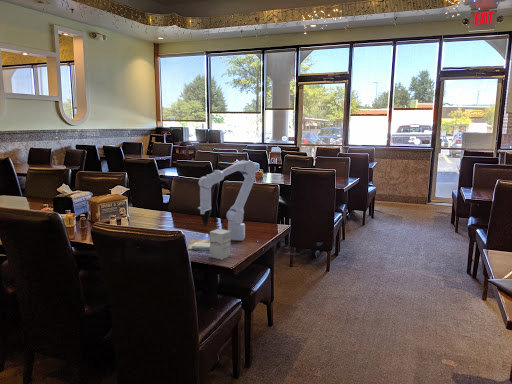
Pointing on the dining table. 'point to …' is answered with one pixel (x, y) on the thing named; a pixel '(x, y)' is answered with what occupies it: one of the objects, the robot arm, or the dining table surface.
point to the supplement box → (220, 243)
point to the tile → (201, 246)
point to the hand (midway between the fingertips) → (205, 224)
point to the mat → (197, 242)
